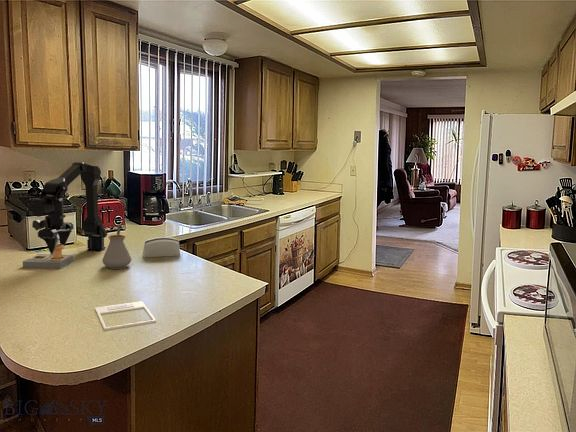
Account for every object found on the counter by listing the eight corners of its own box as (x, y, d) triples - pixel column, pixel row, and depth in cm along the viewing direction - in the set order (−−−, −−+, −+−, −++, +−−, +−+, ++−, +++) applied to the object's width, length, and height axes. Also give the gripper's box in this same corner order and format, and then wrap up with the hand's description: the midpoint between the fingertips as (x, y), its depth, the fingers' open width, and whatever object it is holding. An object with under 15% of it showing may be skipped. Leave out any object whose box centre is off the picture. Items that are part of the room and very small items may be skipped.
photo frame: (142, 300, 155) (156, 319, 140) (142, 303, 155) (156, 323, 140) (94, 307, 148) (104, 327, 132) (95, 310, 148) (104, 331, 133)
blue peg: (63, 253, 212) (62, 236, 211) (57, 256, 207) (56, 238, 205) (51, 253, 212) (50, 235, 210) (45, 255, 207) (44, 238, 205)
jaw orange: (67, 262, 197) (66, 244, 196) (61, 266, 192) (60, 247, 191) (54, 262, 197) (53, 244, 196) (48, 265, 192) (47, 246, 191)
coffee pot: (130, 269, 191) (130, 234, 189) (100, 270, 188) (99, 234, 186) (133, 256, 211) (133, 224, 209) (106, 257, 209) (106, 224, 206)
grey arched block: (179, 252, 222) (180, 234, 217) (180, 258, 218) (181, 240, 213) (142, 254, 216) (142, 235, 211) (143, 260, 212) (143, 241, 208)
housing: (73, 260, 201) (73, 254, 200) (60, 268, 189) (59, 261, 188) (38, 259, 200) (38, 253, 200) (22, 267, 189) (22, 260, 188)
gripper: (47, 208, 200) (48, 244, 203) (23, 215, 182) (25, 254, 184) (73, 209, 200) (74, 245, 203) (51, 217, 182) (53, 256, 184)
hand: (57, 250), depth 193 cm, fingers open, 9 cm apart
